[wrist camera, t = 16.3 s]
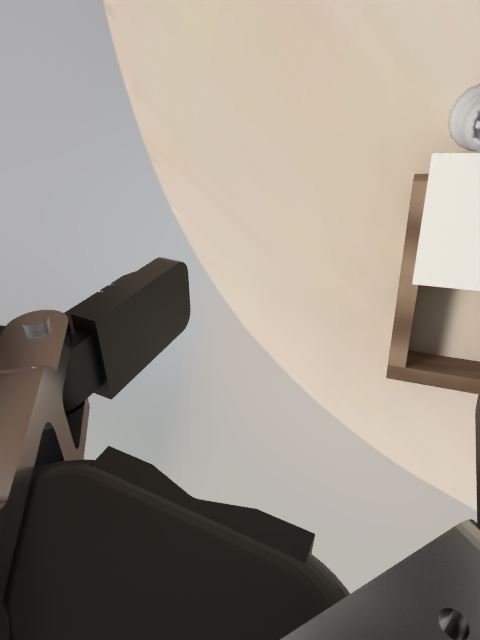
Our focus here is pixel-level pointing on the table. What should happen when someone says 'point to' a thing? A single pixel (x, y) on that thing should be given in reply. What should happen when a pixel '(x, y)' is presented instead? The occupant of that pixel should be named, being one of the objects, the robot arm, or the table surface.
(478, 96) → the rook chess piece
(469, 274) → the sliding lid
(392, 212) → the table surface
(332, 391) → the table surface
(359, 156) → the table surface
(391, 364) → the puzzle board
